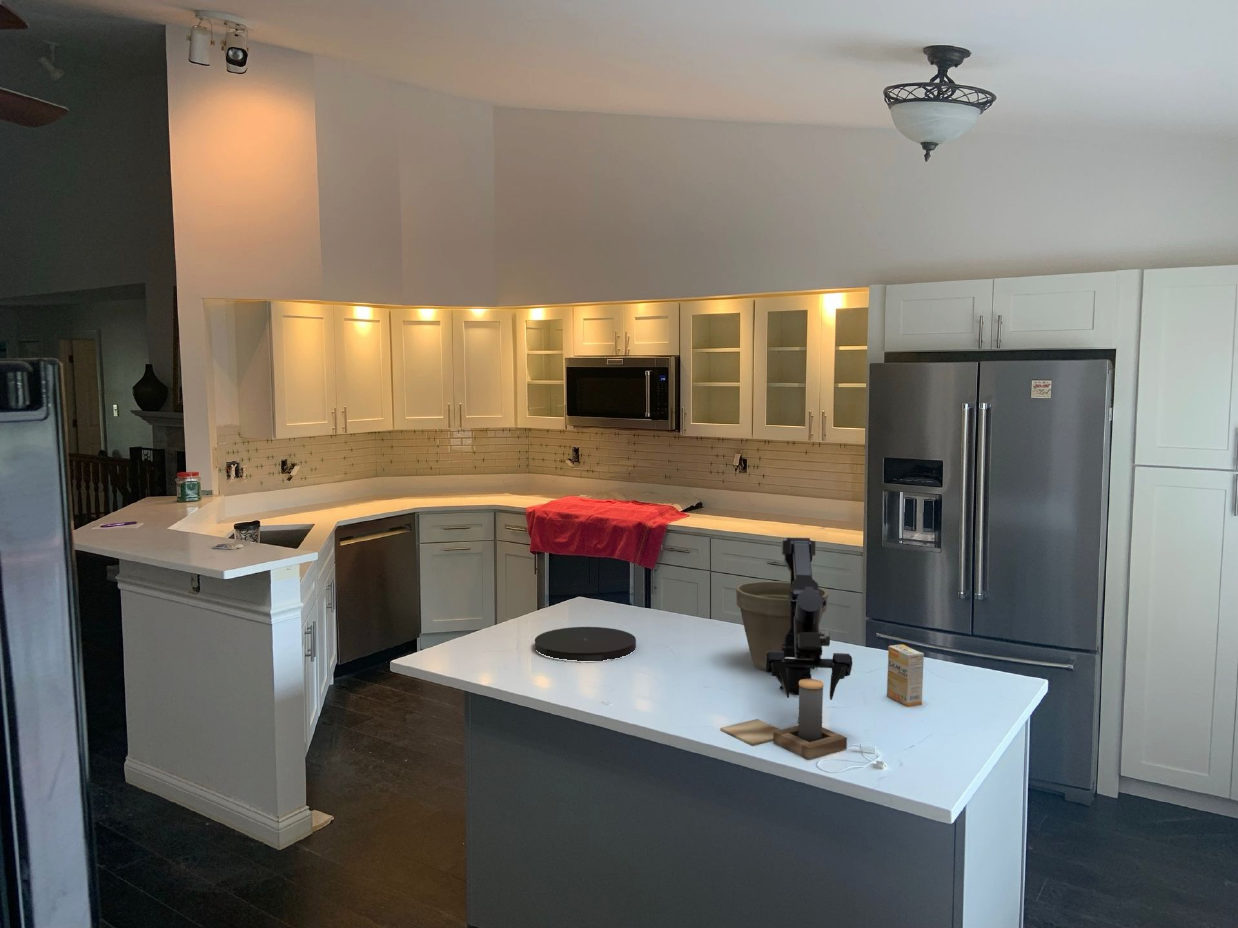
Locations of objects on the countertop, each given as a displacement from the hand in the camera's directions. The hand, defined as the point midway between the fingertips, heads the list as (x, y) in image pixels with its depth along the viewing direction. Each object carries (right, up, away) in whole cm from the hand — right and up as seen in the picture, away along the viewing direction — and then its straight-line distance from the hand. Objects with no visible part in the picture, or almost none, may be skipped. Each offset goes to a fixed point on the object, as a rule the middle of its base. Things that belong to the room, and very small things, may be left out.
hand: (809, 697), depth 203 cm
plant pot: (+3, -5, +57) cm, 57 cm away
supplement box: (+29, -8, +28) cm, 41 cm away
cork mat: (-11, -9, +6) cm, 16 cm away
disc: (-52, -4, +74) cm, 90 cm away
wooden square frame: (0, -10, -1) cm, 10 cm away
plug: (0, -10, -1) cm, 10 cm away
